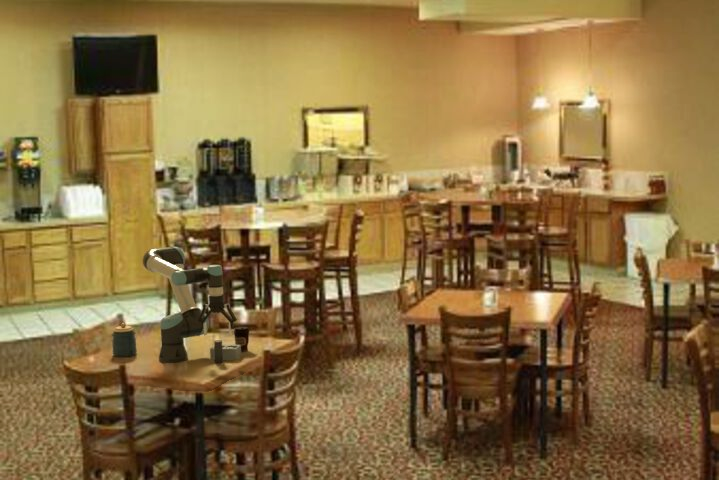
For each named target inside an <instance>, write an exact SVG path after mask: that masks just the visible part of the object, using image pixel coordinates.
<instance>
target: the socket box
mask: <svg viewBox="0 0 719 480" xmlns="http://www.w3.org/2000/svg"><path fill="white" fill-rule="evenodd" d="M209 354H210V355H209V356H210V361H215V348H214V345H213V346H212V347H210V348H209ZM222 355H223V361H237V360H238V359H239V358H241V357H242V352H241V345H235V344H222Z"/></svg>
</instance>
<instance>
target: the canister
mask: <svg viewBox="0 0 719 480" xmlns="http://www.w3.org/2000/svg"><path fill="white" fill-rule="evenodd" d="M134 330H135V328H134V327H132V326H130V325H126V323H124V322H122V323H121V324H120V325H119V326H115V328H113V329H112V331H113V332H112V333H111V337H112V340H111V343H112V356H113V357H116V358H129V357H133V356H136V355H137V351H138V350H137V338H136V334H137V332H136V331H134Z"/></svg>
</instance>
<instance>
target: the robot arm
mask: <svg viewBox="0 0 719 480" xmlns="http://www.w3.org/2000/svg"><path fill="white" fill-rule="evenodd" d="M185 264H186V257H185V253H184V252H183V250H182V249H181V248H180V247H178V246H168V247H160V248H152V249H149V250H147V251H146V252H145V253H144V255H143V257H142V266H143V267H144V268H145V269H146V270H147V271H148V272H151V273H158V274H160V275H162V276H164V277H166V278H168V281H169V284H170V286H171V289H172V291H173V293H174V297H175V299H176V302H177V305H178V308H179V309H180V314H179V313H178V314H177V313H176V314H175V313H174V314H169V315H166V316H164V317H162V319H161V320H160V338H161V346H160V351H159V354H158V361H159V362H162V363H179V362H185V361H186V360H188V358H189V355H188V352H187V351H188V350H187V349H186V347H185V341H184V339H186V338H188V339H189V338H192V337H200V336H205V337H206V336H207V335H208V331H209V326H210V320H209V317H211V315H212V314H215V313H216V314H221V315H223V316H224V317H225V318H226V319H227V321H228V335H229V336H232V335H233V329H235V328H234V323H235V322H237V321H238V319H237V318H236V316H235V314H234V312H233V309H232V308H231V304H230V303H226V304H225V303H224V301H225V300H224V299H225V298H224V278H223V277H224V275H223V273H224V272H223V267H222V265H220V264H211V265H208V266H207V267H206V266H199V267H197V268H191V269H184V267H185ZM200 283H208V284H207V285H208V286H207V287H208V295H209V296H208V304H207V303H204V304H203V305H202V310H201V308H200V307H197V305H196V302H195V299H194V297H193V295H192V293H191V289H190V286H189V285H192V284H200ZM208 308H209V311H208V312H207V313H206V311H207V309H208ZM224 308H225V309H224ZM226 310H227V312H228V313H227V312H226Z"/></svg>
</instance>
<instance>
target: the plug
mask: <svg viewBox="0 0 719 480" xmlns="http://www.w3.org/2000/svg"><path fill="white" fill-rule="evenodd" d="M222 345H223V339H222V338H216V339H214V340H213V346H214V348H215V360H214V363H215V364H216V365H219V364H223V363H224V360H223V355H222Z"/></svg>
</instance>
